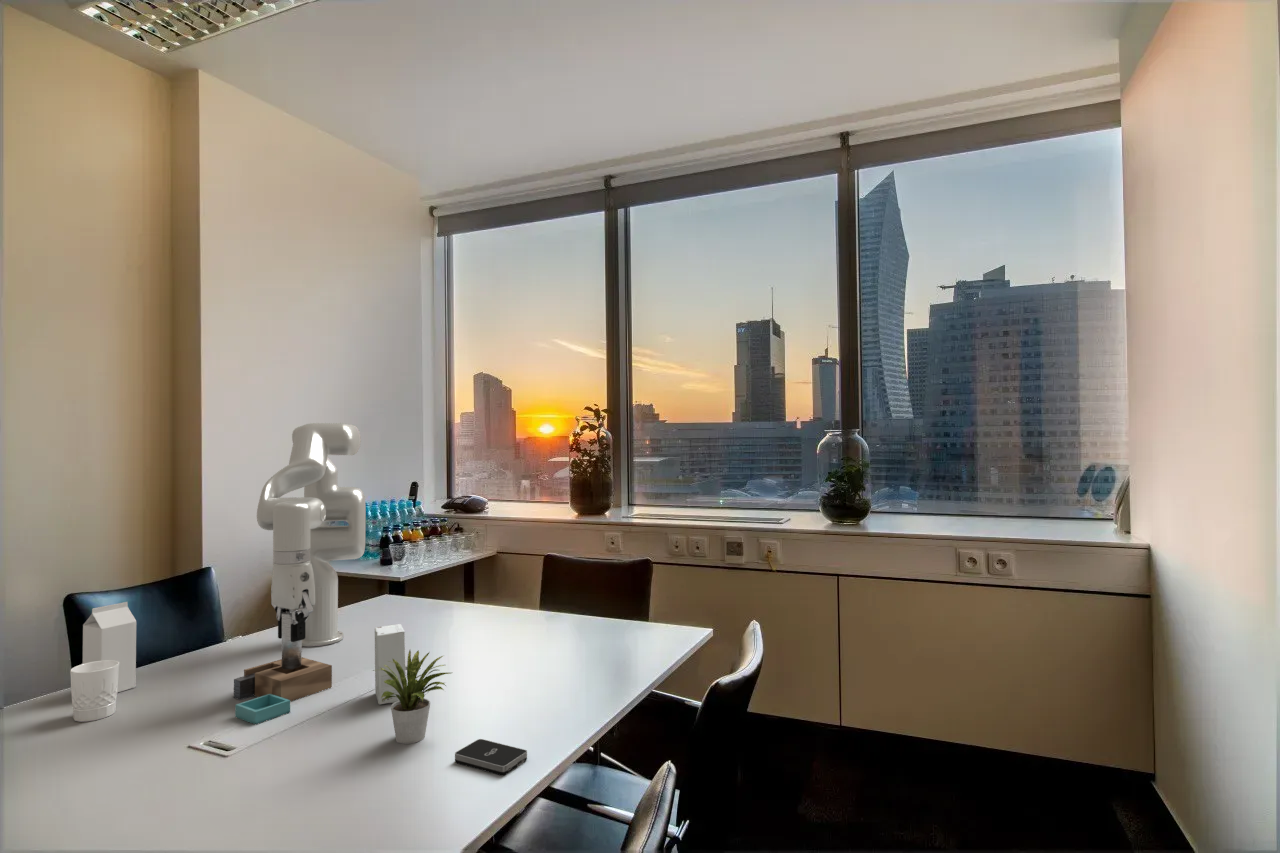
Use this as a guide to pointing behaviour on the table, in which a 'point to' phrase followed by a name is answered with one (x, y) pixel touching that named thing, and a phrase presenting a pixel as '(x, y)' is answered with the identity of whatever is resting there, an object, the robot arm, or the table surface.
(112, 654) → the milk carton
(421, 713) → the house plant
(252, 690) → the bar
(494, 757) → the external hard drive
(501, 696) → the table surface
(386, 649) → the skincare box
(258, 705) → the tray
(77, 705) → the white cup
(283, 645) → the peg
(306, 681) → the socket block
